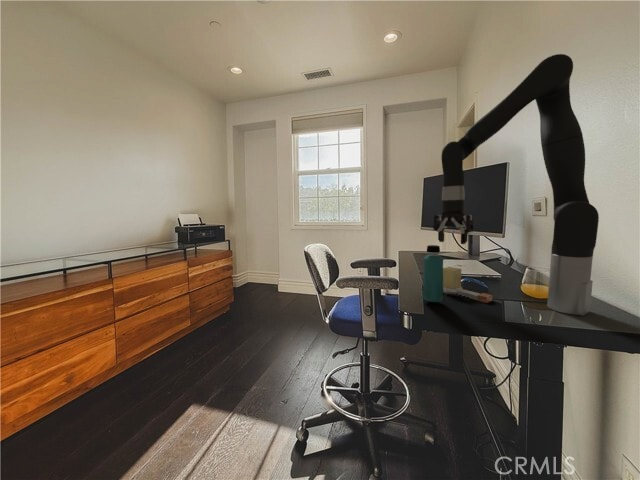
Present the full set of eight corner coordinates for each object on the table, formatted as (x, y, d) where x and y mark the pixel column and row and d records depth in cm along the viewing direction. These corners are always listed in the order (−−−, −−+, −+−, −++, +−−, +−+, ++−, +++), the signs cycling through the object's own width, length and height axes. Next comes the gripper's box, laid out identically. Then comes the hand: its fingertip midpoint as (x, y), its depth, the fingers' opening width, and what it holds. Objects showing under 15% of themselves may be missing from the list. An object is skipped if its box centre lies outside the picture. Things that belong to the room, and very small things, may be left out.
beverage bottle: (446, 306, 89) (448, 246, 87) (426, 306, 89) (427, 247, 87) (437, 299, 96) (439, 243, 93) (419, 300, 96) (420, 244, 93)
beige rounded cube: (460, 287, 102) (461, 269, 101) (453, 289, 100) (453, 271, 99) (448, 284, 106) (448, 266, 106) (440, 286, 104) (441, 268, 103)
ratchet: (434, 291, 105) (435, 278, 104) (446, 287, 109) (447, 275, 108) (483, 304, 90) (484, 290, 89) (495, 299, 94) (495, 285, 93)
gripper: (478, 198, 95) (476, 243, 97) (441, 199, 107) (440, 240, 109) (466, 198, 91) (465, 245, 93) (429, 200, 103) (429, 242, 105)
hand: (452, 242), depth 101 cm, fingers open, 8 cm apart
